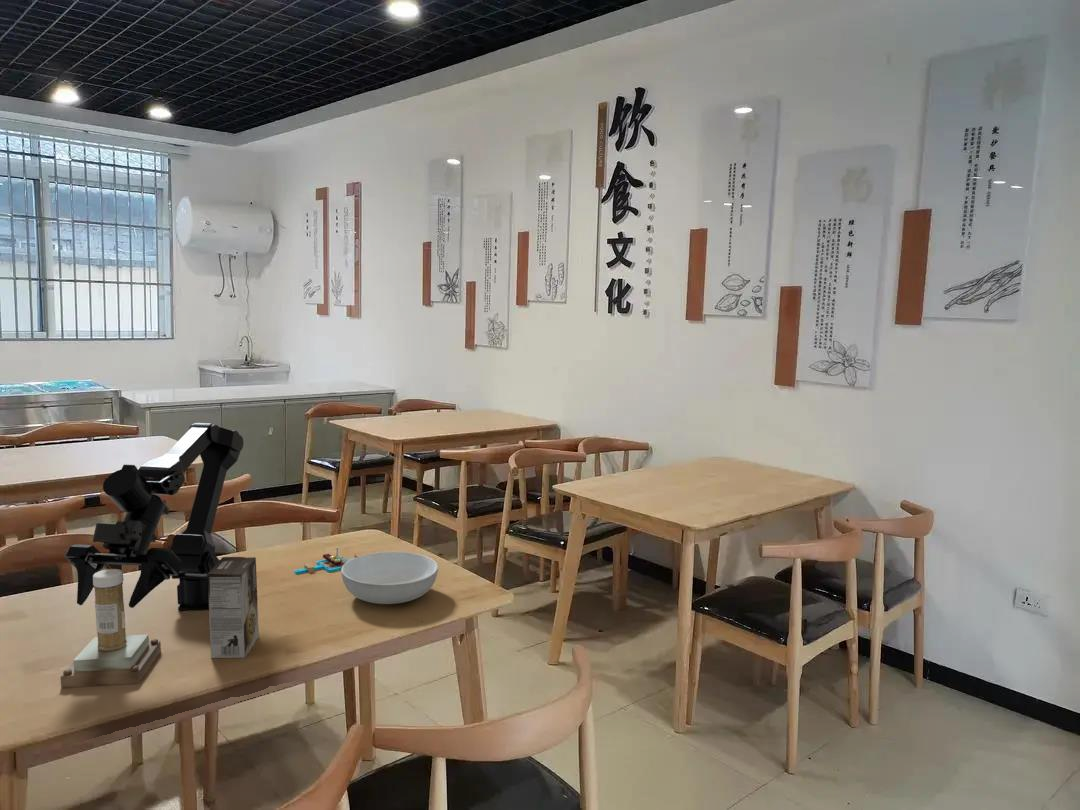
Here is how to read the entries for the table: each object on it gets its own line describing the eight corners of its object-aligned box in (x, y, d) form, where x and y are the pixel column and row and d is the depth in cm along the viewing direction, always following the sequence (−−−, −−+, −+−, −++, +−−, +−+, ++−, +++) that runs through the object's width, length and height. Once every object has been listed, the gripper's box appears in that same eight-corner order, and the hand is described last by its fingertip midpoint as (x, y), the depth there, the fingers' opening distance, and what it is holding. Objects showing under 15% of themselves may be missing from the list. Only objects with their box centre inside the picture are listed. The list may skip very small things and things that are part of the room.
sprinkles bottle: (132, 642, 136) (128, 569, 135) (114, 653, 132) (110, 578, 130) (109, 639, 137) (105, 566, 135) (90, 651, 133) (86, 575, 131)
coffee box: (225, 637, 148) (222, 556, 146) (259, 636, 149) (257, 555, 147) (209, 659, 139) (205, 573, 137) (245, 658, 140) (243, 572, 138)
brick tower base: (160, 651, 142) (159, 630, 141) (138, 683, 130) (137, 660, 130) (90, 654, 140) (88, 634, 139) (61, 687, 128) (59, 665, 128)
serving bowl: (371, 624, 156) (371, 591, 155) (324, 593, 171) (324, 563, 170) (456, 599, 169) (456, 569, 168) (406, 573, 185) (406, 545, 184)
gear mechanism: (286, 569, 187) (301, 580, 180) (286, 547, 186) (301, 558, 179) (362, 553, 199) (379, 563, 192) (362, 533, 199) (379, 542, 192)
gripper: (68, 500, 136) (26, 583, 126) (170, 504, 134) (135, 588, 125) (99, 530, 145) (62, 610, 135) (195, 534, 143) (165, 615, 134)
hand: (104, 605), depth 132 cm, fingers open, 9 cm apart
